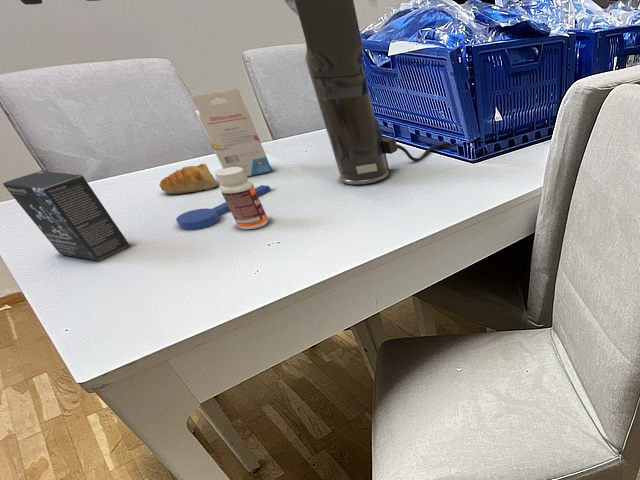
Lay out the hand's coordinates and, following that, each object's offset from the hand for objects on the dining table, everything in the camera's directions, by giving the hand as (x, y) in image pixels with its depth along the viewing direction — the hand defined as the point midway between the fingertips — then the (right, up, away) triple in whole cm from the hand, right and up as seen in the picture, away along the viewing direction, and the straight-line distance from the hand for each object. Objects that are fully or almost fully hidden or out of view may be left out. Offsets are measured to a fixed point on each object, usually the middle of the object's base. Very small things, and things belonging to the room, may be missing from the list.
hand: (65, 2), depth 56 cm
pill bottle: (+12, -21, +19) cm, 30 cm away
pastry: (-8, -8, +32) cm, 35 cm away
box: (-9, -27, +13) cm, 31 cm away
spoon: (+4, -16, +24) cm, 29 cm away
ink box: (-1, -2, +38) cm, 38 cm away
